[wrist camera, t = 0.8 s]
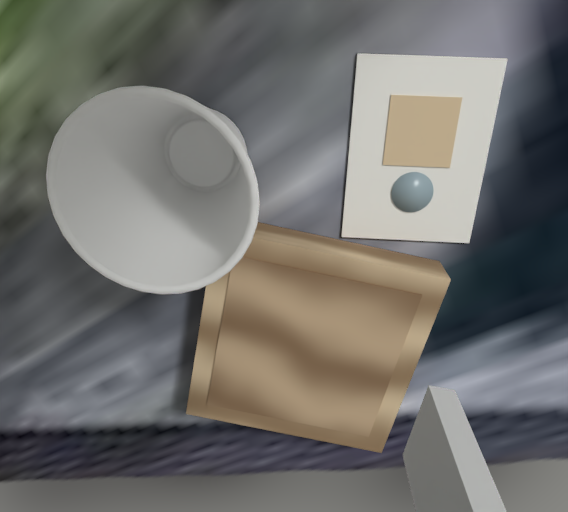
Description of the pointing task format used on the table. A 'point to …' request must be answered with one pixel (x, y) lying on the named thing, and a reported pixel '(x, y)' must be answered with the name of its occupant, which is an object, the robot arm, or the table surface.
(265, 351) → the plinth block
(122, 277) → the cup
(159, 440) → the table surface
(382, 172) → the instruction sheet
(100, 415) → the table surface
